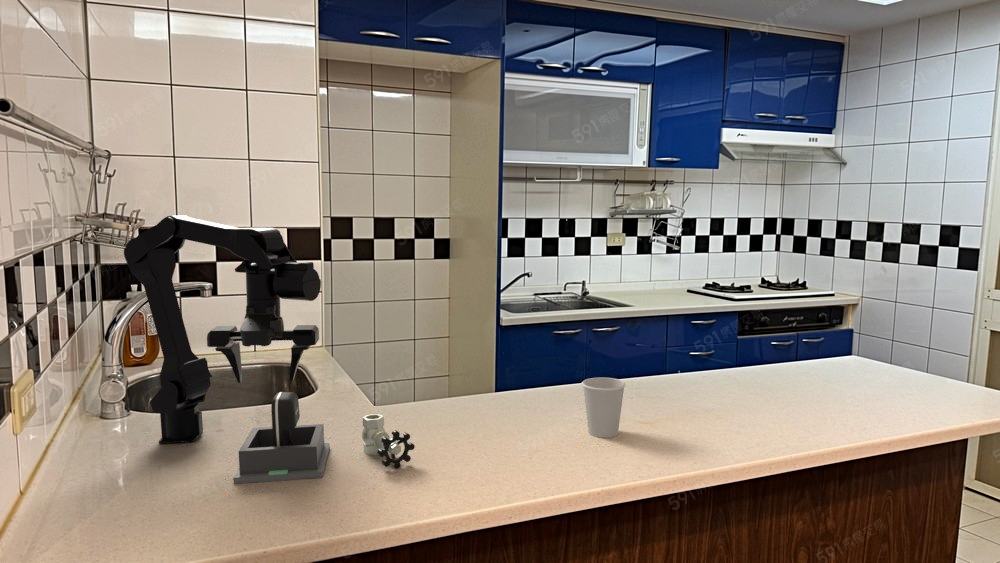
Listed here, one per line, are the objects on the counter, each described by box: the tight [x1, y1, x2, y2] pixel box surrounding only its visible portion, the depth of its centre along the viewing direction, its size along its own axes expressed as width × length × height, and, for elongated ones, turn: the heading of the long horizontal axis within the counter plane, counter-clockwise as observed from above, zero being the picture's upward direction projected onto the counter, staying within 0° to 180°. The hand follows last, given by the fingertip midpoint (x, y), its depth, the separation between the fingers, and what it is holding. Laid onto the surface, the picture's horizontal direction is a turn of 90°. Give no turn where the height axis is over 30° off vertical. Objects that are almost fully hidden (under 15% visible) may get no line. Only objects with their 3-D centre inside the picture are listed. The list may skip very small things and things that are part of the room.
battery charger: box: [270, 391, 301, 447], centre depth 121 cm, size 7×4×11 cm, turn 8°
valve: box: [361, 413, 415, 470], centre depth 124 cm, size 7×7×12 cm
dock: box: [232, 423, 330, 484], centre depth 122 cm, size 14×14×5 cm
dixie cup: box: [581, 376, 627, 439], centre depth 136 cm, size 8×8×10 cm
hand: (265, 381), depth 129 cm, fingers open, 9 cm apart
